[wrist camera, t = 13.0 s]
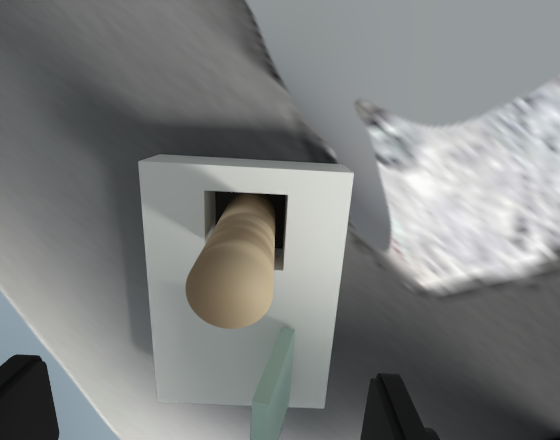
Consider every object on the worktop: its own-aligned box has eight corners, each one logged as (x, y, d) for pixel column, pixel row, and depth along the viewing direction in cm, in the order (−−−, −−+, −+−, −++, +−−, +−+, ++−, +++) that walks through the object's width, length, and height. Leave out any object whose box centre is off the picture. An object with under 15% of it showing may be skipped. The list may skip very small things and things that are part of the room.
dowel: (276, 192, 26) (275, 253, 14) (274, 239, 27) (271, 330, 15) (226, 189, 25) (183, 248, 14) (225, 236, 27) (186, 327, 15)
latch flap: (282, 326, 25) (295, 329, 24) (277, 398, 27) (289, 401, 26) (251, 400, 18) (268, 405, 18) (248, 487, 20) (263, 492, 20)
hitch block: (342, 164, 25) (354, 172, 21) (318, 372, 31) (324, 408, 27) (159, 154, 25) (138, 161, 21) (172, 366, 31) (157, 402, 27)
